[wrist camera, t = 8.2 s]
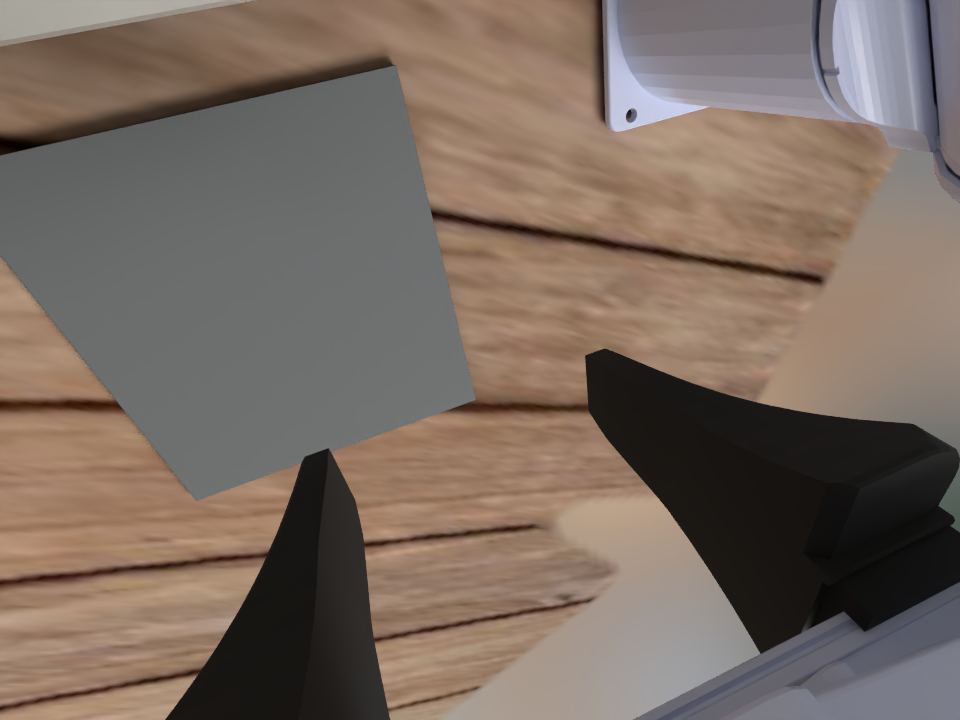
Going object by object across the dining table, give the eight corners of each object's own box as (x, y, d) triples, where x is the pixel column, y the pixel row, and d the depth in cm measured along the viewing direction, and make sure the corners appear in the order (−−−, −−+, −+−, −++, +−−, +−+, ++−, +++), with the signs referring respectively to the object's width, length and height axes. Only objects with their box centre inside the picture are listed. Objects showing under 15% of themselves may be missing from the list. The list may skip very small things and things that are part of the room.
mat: (394, 65, 17) (396, 65, 16) (473, 395, 25) (475, 399, 25) (-60, 168, 14) (-67, 171, 14) (197, 494, 23) (196, 500, 23)
